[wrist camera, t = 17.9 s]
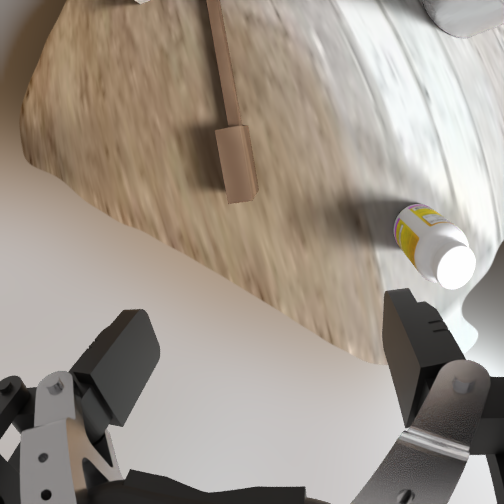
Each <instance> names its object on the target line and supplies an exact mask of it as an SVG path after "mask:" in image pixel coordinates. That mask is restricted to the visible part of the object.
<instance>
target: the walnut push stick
mask: <svg viewBox="0 0 504 504" xmlns="http://www.w3.org/2000/svg"><path fill="white" fill-rule="evenodd" d="M206 1H207V7H208V13H209V19H210V24H211V30H212V36H213V41H214V47H215V53H216V59H217V64H218V70H219V76H220V81H221V87H222V93H223V98H224V104H225V110H226V116H227V121H228V127H229V128H224V129H218V130H215V135H216V140H217V146H218V151H219V157H220V162H221V168H222V173H223V179H224V184H225V189H226V195H227V200H228V204H232V203H239V202H247V201H252V200H253V199H254V197H255V195H256V194H257V192H258V190H259V188H258V182H257V176H256V170H255V164H254V158H253V152H252V146H251V140H250V134H249V129H248V126H242V122H241V116H240V111H239V105H238V99H237V94H236V88H235V82H234V77H233V71H232V65H231V60H230V54H229V49H228V43H227V38H226V32H225V27H224V21H223V16H222V11H221V5H220V0H206Z"/></svg>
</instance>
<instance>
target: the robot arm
mask: <svg viewBox="0 0 504 504" xmlns="http://www.w3.org/2000/svg"><path fill="white" fill-rule="evenodd" d="M422 1H423V5H424V7H425V10H426V11H427V13H428V15H429V16H430V18H431V19H432V20H433V21H434V23H435V24H437V25H438V26H439V27H440V28H441V29H442V30H444V31H445V32H447V33H449V34H450V35H453V36H455V37H459V38H469V37H472V36H474V35H477V34H479V33H482V32H485V31H487V30H490V29H492V28H495V27H498V26H500V25H503V24H504V0H422ZM382 340H383V348H384V352H385V355H386V358H387V362H388V365H389V369H390V372H391V376H392V379H393V383H394V386H395V390H396V394H397V397H398V401H399V405H400V408H401V413H402V417H403V421H404V425H405V428H409V427H410V428H409V429H408V431H403V432H402V434H401V435H400V436H399V438H398V439H397V441H396V442H395V444H394V445H393V447H392V448H391V450H390V451H389V453H388V454H387V456H386V457H385V459H384V460H383V462H382V463H381V464H380V466H379V467H378V469H377V470H376V472H375V473H374V474H373V476H372V477H371V478H370V480H369V481H368V482H367V484H366V485H365V486H364V487H363V489H362V490H361V491H360V493H359V494H358V495H357V496H356V498H355V499H354V500H353V501H352V502H351V504H447V503H448V501H449V499H450V497H451V495H452V493H453V491H454V489H455V487H456V485H457V483H458V481H459V479H460V477H461V474H462V472H463V470H464V468H465V465H466V463H467V460H468V458H469V455H486V458H487V462H488V465H489V468H490V473H491V477H492V481H493V486H494V490H495V495H496V499H497V504H504V377H490V376H489V373H488V372H487V370H486V369H485V368H484V367H483V366H481V365H480V364H478V363H476V362H473V361H470V360H466V359H465V357H464V355H463V353H462V351H461V350H460V348H459V346H458V344H457V343H456V341H455V339H454V337H453V336H452V334H451V332H450V331H449V330H448V327H447V326H446V324H445V322H443V319H442V317H441V316H440V314H439V313H438V311H437V309H435V308H434V307H432V306H431V305H429V304H428V303H427V302H418V303H417V301H416V300H415V298H414V296H413V295H412V293H411V291H410V290H409V289H408V288H405V289H397V290H389V291H386V292H385V295H384V312H383V329H382ZM159 358H160V346H159V343H158V341H157V338H156V335H155V333H154V330H153V327H152V325H151V322H150V319H149V316H148V314H147V313H146V311H145V310H143V309H137V310H135V309H134V310H123V311H122V312H121V313H120V314H119V316H118V317H117V318H116V319H115V321H113V323H112V324H111V325H110V326H108V327H107V328H106V329H104V330H103V331H102V332H101V333H100V334H99V335H98V336H97V338H96V339H95V341H94V342H93V343H92V344H91V345H90V346H89V349H87V350H86V351H85V352H84V353H83V354H82V356H81V357H80V358H79V360H78V361H77V362H76V363H75V364H74V366H73V367H72V368H71V369H70V371H69V372H66V371H58V372H54V373H52V374H50V375H48V376H46V377H45V378H44V379H43V380H42V381H41V382H40V383H39V385H38V387H33V388H26V386H25V385H24V383H23V381H22V380H21V378H20V377H18V376H10V377H7V378H5V379H3V380H2V381H0V439H1V437H2V436H3V435H4V433H5V431H6V430H7V429H8V427H9V426H10V424H11V423H12V424H13V425H14V427H15V428H16V429H17V430H18V431H19V432H20V434H21V441H20V443H19V445H18V446H17V448H16V449H15V451H14V453H13V454H12V456H11V458H10V459H9V461H8V462H7V461H6V460H5V459H4V458H3V457H2V456H1V455H0V504H330V503H328V502H324V501H321V500H317V499H312V498H307V497H306V489H305V487H251V488H245V489H238V490H231V491H223V492H213V493H207V492H203V491H200V490H197V489H195V488H192V487H190V486H187V485H185V484H182V483H180V482H177V481H175V480H172V479H170V478H168V477H165V476H159V475H154V474H150V473H145V472H140V471H136V470H131V469H130V471H129V473H128V475H127V477H126V479H125V480H124V479H123V477H122V475H121V473H120V470H119V466H118V463H117V459H116V455H115V452H114V448H113V444H112V440H111V436H110V433H109V432H108V430H107V429H106V428H107V427H108V425H109V424H111V425H116V426H121V427H123V426H124V423H125V422H126V420H127V418H128V416H129V414H130V413H131V411H132V409H133V407H134V405H135V403H136V401H137V400H138V398H139V396H140V394H141V392H142V390H143V388H144V387H145V385H146V383H147V381H148V379H149V377H150V376H151V374H152V372H153V370H154V368H155V366H156V364H157V363H158V361H159Z"/></svg>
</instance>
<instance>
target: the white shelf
mask: <svg viewBox="0 0 504 504" xmlns="http://www.w3.org/2000/svg"><path fill="white" fill-rule="evenodd" d="M135 1H136V2H138V3H139V4H142V3H145V2H148V1H150V0H135Z"/></svg>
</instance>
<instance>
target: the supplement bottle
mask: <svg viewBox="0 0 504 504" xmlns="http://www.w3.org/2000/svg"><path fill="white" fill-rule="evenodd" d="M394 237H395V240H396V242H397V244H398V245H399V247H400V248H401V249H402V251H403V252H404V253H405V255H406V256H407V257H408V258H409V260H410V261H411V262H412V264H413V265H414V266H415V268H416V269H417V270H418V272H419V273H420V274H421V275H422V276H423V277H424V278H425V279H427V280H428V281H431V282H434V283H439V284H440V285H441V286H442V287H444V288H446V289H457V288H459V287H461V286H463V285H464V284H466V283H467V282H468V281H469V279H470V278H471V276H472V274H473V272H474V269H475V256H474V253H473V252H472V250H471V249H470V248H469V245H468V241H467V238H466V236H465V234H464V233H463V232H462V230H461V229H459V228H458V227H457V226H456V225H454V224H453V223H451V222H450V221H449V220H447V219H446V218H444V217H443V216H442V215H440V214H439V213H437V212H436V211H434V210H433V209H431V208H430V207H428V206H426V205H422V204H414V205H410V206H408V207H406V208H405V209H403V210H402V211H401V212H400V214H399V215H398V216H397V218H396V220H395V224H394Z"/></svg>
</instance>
